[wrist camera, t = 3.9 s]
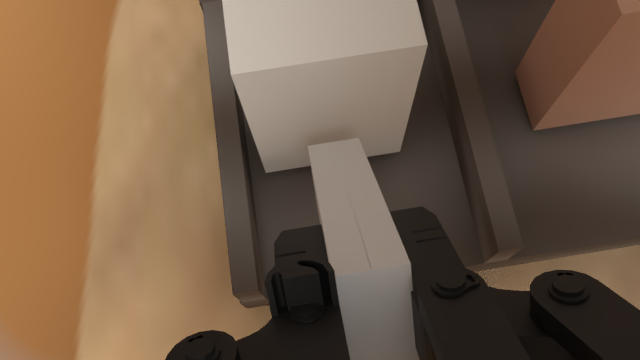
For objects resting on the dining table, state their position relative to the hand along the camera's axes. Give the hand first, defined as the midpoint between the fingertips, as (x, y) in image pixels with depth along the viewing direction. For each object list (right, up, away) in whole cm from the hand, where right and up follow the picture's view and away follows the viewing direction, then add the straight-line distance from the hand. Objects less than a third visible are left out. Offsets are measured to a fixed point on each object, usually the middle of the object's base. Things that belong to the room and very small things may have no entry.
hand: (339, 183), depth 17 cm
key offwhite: (0, +2, +5) cm, 5 cm away
